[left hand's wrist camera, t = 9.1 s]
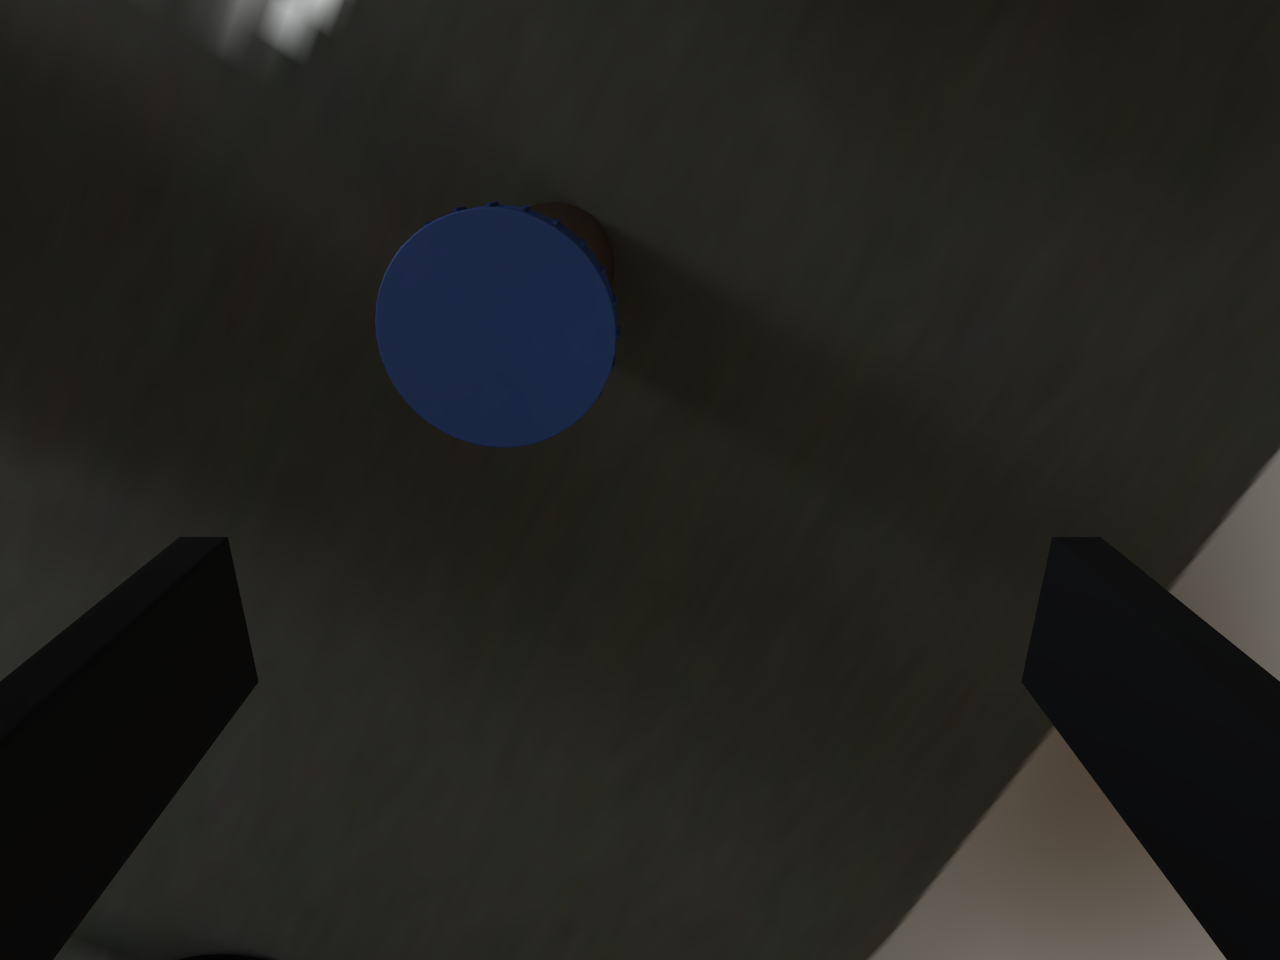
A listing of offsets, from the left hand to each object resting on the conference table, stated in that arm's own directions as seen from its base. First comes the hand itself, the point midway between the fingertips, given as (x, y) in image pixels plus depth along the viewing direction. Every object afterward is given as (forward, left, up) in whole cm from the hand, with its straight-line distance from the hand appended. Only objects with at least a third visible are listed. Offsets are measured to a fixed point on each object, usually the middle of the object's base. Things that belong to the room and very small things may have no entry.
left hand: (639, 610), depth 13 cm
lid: (-2, +4, -9) cm, 10 cm away
